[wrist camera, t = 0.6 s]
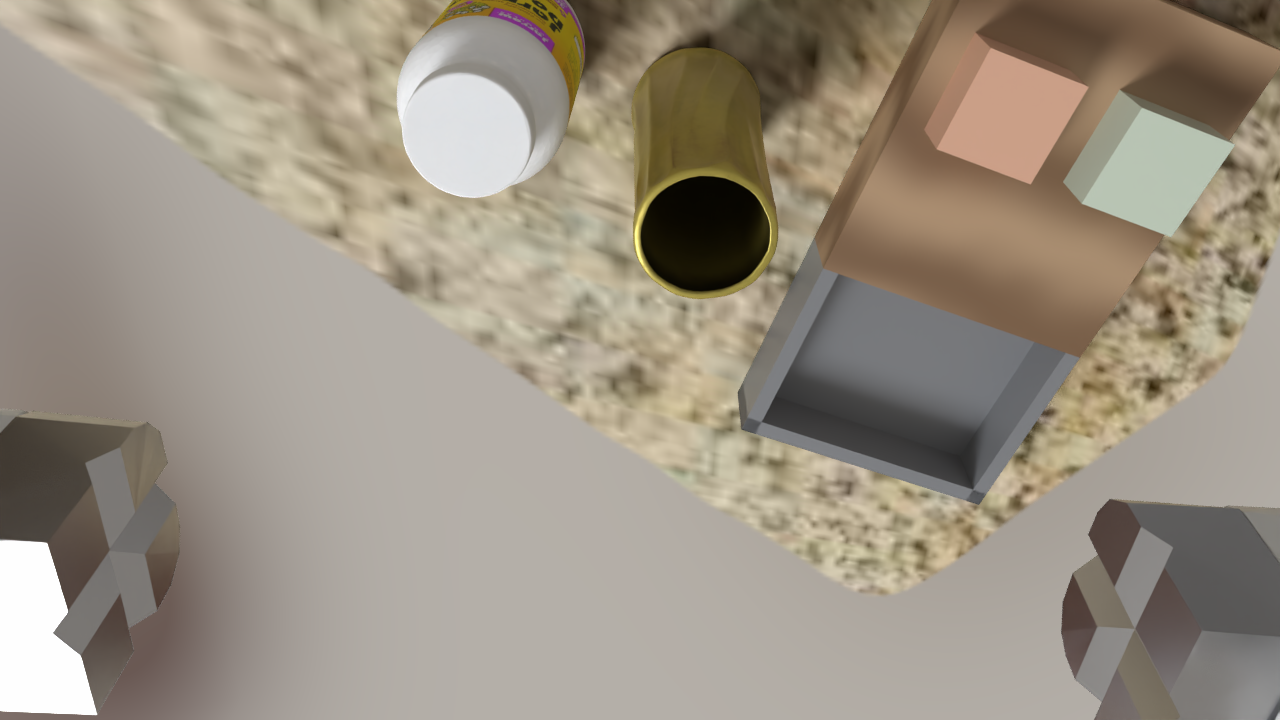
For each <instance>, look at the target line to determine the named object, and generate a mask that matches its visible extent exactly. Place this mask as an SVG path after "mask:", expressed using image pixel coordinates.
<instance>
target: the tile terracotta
mask: <svg viewBox="0 0 1280 720" xmlns="http://www.w3.org/2000/svg"><path fill="white" fill-rule="evenodd" d="M1088 88H1089V86H1087V85H1086V84H1085V83H1084V82H1083V81H1082V80H1080V79H1079V78H1078V77H1077V76H1076V75H1075V74H1073V73H1072V72H1071V71H1070V70H1069V69H1066V68H1064V67H1061V66H1059V65H1056V64H1054V63H1051V62H1049V61H1046V60H1044V59H1041V58H1039V57H1036V56H1033V55H1031V54H1028V53H1026V52H1023V51H1021V50H1018V49H1016V48H1013V47H1011V46H1008V45H1006V44H1003V43H1001V42H998V41H996V40H993V39H991V38H988V37H986V36H983V35H981V34H978V33H976V32H975V34H974V35H973V37H972V39H971V41H970V43H969V45H968V47H967V49H966V51H965V53H964V55H963V56H962V58H961V60H960V62H959V64H958V66H957V68H956V70H955V72H954V74H953V76H952V77H951V79H950V81H949V83H948V85H947V87H946V89H945V91H944V93H943V95H942V97H941V98H940V100H939V102H938V104H937V106H936V108H935V110H934V112H933V114H932V116H931V118H930V119H929V121H928V123H927V125H926V127H925V129H924V130H925V132H926V133H927V135H928V136H929V138H930V140H931V141H932V143H933V144H934V146H935V148H936V149H937V150H940V151H943V152H945V153H948V154H951V155H953V156H956V157H959V158H961V159H964V160H967V161H969V162H972V163H975V164H977V165H980V166H983V167H985V168H988V169H991V170H993V171H996V172H999V173H1001V174H1004V175H1007V176H1009V177H1012V178H1015V179H1017V180H1020V181H1023V182H1025V183H1028V184H1031V183H1032V181H1033V180H1034V178H1035V176H1036V175H1037V173H1038V171H1039V170H1040V168H1041V166H1042V165H1043V163H1044V161H1045V160H1046V158H1047V156H1048V155H1049V153H1050V151H1051V150H1052V148H1053V146H1054V145H1055V143H1056V141H1057V140H1058V138H1059V136H1060V134H1061V133H1062V131H1063V129H1064V128H1065V126H1066V124H1067V123H1068V121H1069V119H1070V118H1071V116H1072V114H1073V113H1074V111H1075V109H1076V108H1077V106H1078V104H1079V103H1080V101H1081V99H1082V98H1083V96H1084V94H1085V93H1086V91H1087V89H1088Z"/></svg>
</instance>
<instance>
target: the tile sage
mask: <svg viewBox="0 0 1280 720" xmlns="http://www.w3.org/2000/svg"><path fill="white" fill-rule="evenodd" d="M1234 146H1235V144H1234V143H1232V142H1231V141H1230V140H1228V139H1227V138H1225V137H1224V136H1223V135H1221V134H1220V133H1219V132H1217V131H1216V130H1215V129H1213V128H1212V127H1211V126H1209V125H1207V124H1205V123H1202V122H1200V121H1197V120H1195V119H1192V118H1190V117H1187V116H1185V115H1182V114H1179V113H1177V112H1174V111H1172V110H1169V109H1167V108H1164V107H1162V106H1159V105H1157V104H1154V103H1152V102H1149V101H1147V100H1144V99H1142V98H1139V97H1137V96H1134V95H1132V94H1129V93H1127V92H1124V91H1122V90H1119V91H1118V93H1117V95H1116V96H1115V98H1114V100H1113V101H1112V103H1111V105H1110V106H1109V108H1108V109H1107V111H1106V113H1105V114H1104V116H1103V118H1102V119H1101V121H1100V122H1099V124H1098V126H1097V127H1096V129H1095V131H1094V132H1093V134H1092V136H1091V137H1090V139H1089V140H1088V142H1087V144H1086V145H1085V147H1084V149H1083V150H1082V152H1081V153H1080V155H1079V157H1078V158H1077V160H1076V162H1075V163H1074V165H1073V167H1072V168H1071V170H1070V171H1069V173H1068V175H1067V176H1066V178H1065V180H1064V181H1063V183H1064V184H1065V185H1066V186H1067V187H1068V188H1069V190H1070V191H1071V192H1072V193H1073V194H1074V195H1075V196H1076V198H1077V199H1078V200H1079V201H1080V202H1081V203H1082V204H1084V205H1087V206H1089V207H1092V208H1095V209H1097V210H1100V211H1103V212H1105V213H1108V214H1111V215H1113V216H1116V217H1119V218H1121V219H1124V220H1127V221H1129V222H1132V223H1135V224H1137V225H1140V226H1143V227H1145V228H1148V229H1151V230H1153V231H1156V232H1159V233H1161V234H1164V235H1167V236H1169V237H1172V235H1173V234H1174V232H1175V231H1176V230H1177V228H1178V227H1179V225H1180V224H1181V222H1182V221H1183V219H1184V218H1185V217H1186V215H1187V214H1188V212H1189V211H1190V209H1191V208H1192V206H1193V205H1194V204H1195V202H1196V201H1197V199H1198V198H1199V196H1200V195H1201V193H1202V192H1203V191H1204V189H1205V188H1206V186H1207V185H1208V183H1209V182H1210V180H1211V179H1212V178H1213V176H1214V175H1215V173H1216V172H1217V170H1218V169H1219V167H1220V166H1221V165H1222V163H1223V162H1224V160H1225V159H1226V157H1227V156H1228V154H1229V153H1230V151H1231V150H1232V149H1233V147H1234Z"/></svg>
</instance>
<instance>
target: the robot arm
mask: <svg viewBox="0 0 1280 720" xmlns="http://www.w3.org/2000/svg"><path fill="white" fill-rule="evenodd" d="M167 463H168V462H167V458H166V454H165V450H164V446H163V442H162V438H161V433H160V431H159V430H157V429H156V428H155V427H153V426H152V425H151V424H149V423H148V422H138V421H127V420H117V419H107V418H98V417H88V416H76V415H68V414H67V415H66V414H58V413H47V412H37V411H32V412H27V411H23V410H12V409H1V408H0V710H3V711H24V712H46V713H68V714H90V715H97V714H98V712H99V710H100V709H101V707H102V705H103V703H104V702H105V700H106V698H107V697H108V695H109V693H110V691H111V690H112V688H113V686H114V685H115V683H116V681H117V679H118V678H119V676H120V674H121V672H122V671H123V669H124V667H125V666H126V664H127V662H128V661H129V659H130V657H131V655H132V654H133V652H134V649H133V644H132V640H131V636H130V632H129V628H130V627H132V626H133V625H135V624H137V623H138V622H140V621H141V620H143V619H145V618H146V617H148V616H149V615H151V614H153V613H154V612H156V611H157V610H158V608H159V606H160V605H161V603H162V601H163V599H164V597H165V595H166V594H167V592H168V590H169V588H170V586H171V584H172V580H173V576H174V572H175V568H176V564H177V560H178V557H179V552H180V524H179V518H178V513H177V508H176V504H175V503H174V502H173V501H172V500H171V499H170V498H169V497H168V496H167V495H166V494H165V493H164V492H163V491H162V490H161V489H160V488H159V487H158V486H157V485H156V484H155V482H156V480H157V479H158V477H159V475H160V474H161V472H162V471H163V469H164V468H165V466H166V465H167ZM1088 535H1089V537H1090V539H1091V541H1092V544H1093V545H1094V548H1095V550H1096V552H1097V554H1098V555H1097V556H1096V557H1094V558H1093V559H1092V560H1090V561H1089V562H1088V563H1086V564H1085V565H1083V566H1082V567H1081V568H1079V569H1078V570H1077V571H1075V572H1074V573H1073V574H1072V577H1071V580H1070V583H1069V585H1068V588H1067V592H1066V594H1065V597H1064V600H1063V607H1062V608H1063V609H1062V628H1061V634H1062V639H1063V644H1064V649H1065V654H1066V658H1067V660H1068V663H1069V665H1070V668H1071V670H1072V673H1073V675H1074V678H1075V679H1076V681H1078V682H1079V683H1080V684H1081V685H1082V686H1084V687H1085V688H1086V689H1087V690H1088V691H1089V692H1091V693H1092V694H1093V695H1094V696H1095V697H1097V698H1098V699H1099V700H1100V701H1101V702H1102V703H1101V705H1100V707H1099V710H1098V712H1097V714H1096V717H1095V719H1094V720H1280V508H1264V507H1243V506H1226V507H1224V508H1223V507H1211V506H1198V505H1184V504H1170V503H1157V502H1144V501H1131V500H1130V501H1129V500H1117V499H1109V501H1107V502H1106V504H1105V505H1104V506H1103V507H1102V508H1101V509H1100V510H1099V511H1098V512H1097V515H1096V517H1095V520H1094V522H1093V525H1092V527H1091V529H1090V531H1089V534H1088Z"/></svg>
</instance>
